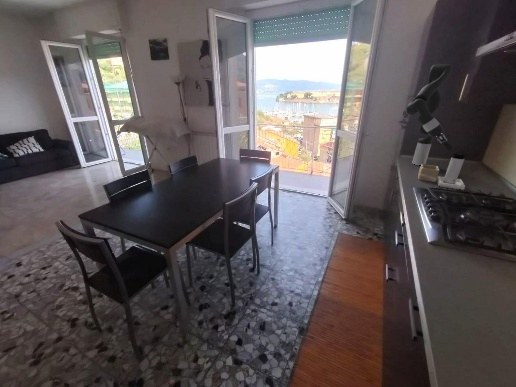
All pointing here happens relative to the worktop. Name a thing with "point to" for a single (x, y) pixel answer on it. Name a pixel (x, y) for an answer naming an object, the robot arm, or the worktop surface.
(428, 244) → the worktop surface
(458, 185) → the tray
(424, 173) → the holder
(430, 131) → the robot arm
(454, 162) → the travel mug
